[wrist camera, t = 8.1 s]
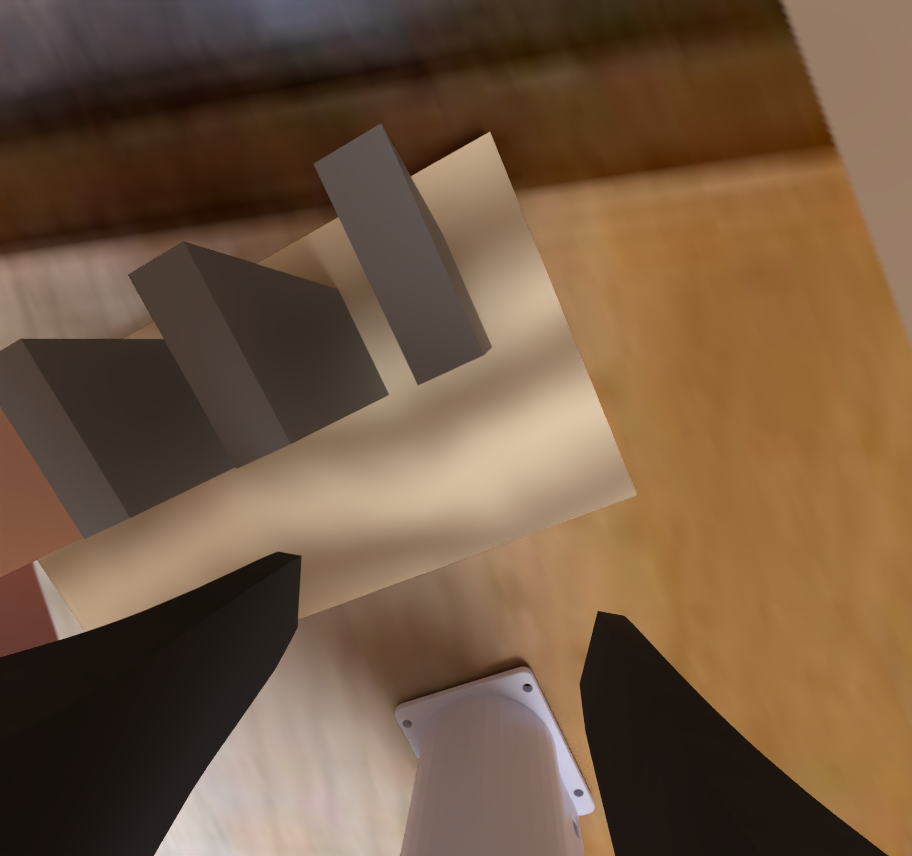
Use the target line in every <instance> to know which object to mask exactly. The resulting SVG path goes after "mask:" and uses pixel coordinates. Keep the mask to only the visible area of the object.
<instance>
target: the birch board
mask: <svg viewBox="0 0 912 856" xmlns="http://www.w3.org/2000/svg"><path fill="white" fill-rule="evenodd" d="M411 178H412V180H413V181H414V183H415V185H416V187H417V188H418V190H419V192H420V194H421V196H422V197H423V199H424V201H425V203H426V205H427V206H428V208H429V210H430V212H431V214H432V215H433V217H434V219H435V221H436V223H437V224H438V226H439V228H440V230H441V232H442V233H443V236H444V238H445V240H446V242H447V245H448V247H449V249H450V252H451V254H452V256H453V258H454V261H455V263H456V265H457V268H458V270H459V272H460V275H461V277H462V279H463V281H464V284H465V286H466V288H467V291H468V293H469V295H470V297H471V300H472V302H473V304H474V307H475V309H476V311H477V313H478V316H479V318H480V320H481V323H482V325H483V327H484V329H485V332H486V334H487V336H488V339H489V341H490V343H491V345H492V348H491V349H490V350H489V351H488V352H487V353H486V354H485V355H483V356H481V357H479V358H477V359H475V360H473V361H470V362H468V363H466V364H464V365H462V366H459V367H457V368H455V369H453V370H451V371H449V372H446V373H444V374H442V375H440V376H438V377H436V378H433V379H431V380H429V381H427V382H425V383H423V384H420V385H417V382H416V380H415V378H414V376H413V374H412V372H411V370H410V368H409V366H408V363H407V361H406V359H405V357H404V355H403V353H402V351H401V349H400V346H399V344H398V342H397V340H396V338H395V336H394V334H393V332H392V329H391V327H390V325H389V323H388V321H387V319H386V317H385V315H384V313H383V310H382V308H381V306H380V304H379V302H378V300H377V298H376V296H375V293H374V291H373V289H372V287H371V285H370V283H369V281H368V279H367V276H366V274H365V272H364V270H363V268H362V266H361V264H360V262H359V259H358V257H357V255H356V253H355V251H354V249H353V247H352V245H351V243H350V240H349V238H348V236H347V234H346V232H345V230H344V228H343V226H342V223H341V221H340V219H339V217H338V218H336V219H334V220H333V221H331V222H329V223H327V224H325V225H324V226H322V227H320V228H318V229H317V230H315V231H313V232H311V233H309V234H308V235H306V236H304V237H302V238H301V239H299V240H297V241H295V242H294V243H292V244H290V245H288V246H286V247H285V248H283V249H281V250H279V251H278V252H276V253H274V254H272V255H270V256H269V257H267V258H265V259H263V260H262V261H260V262H258V263H256V264H258V265H261V266H265V267H268V268H271V269H275V270H278V271H281V272H284V273H288V274H291V275H294V276H297V277H301V278H304V279H307V280H310V281H314V282H317V283H320V284H323V285H327V286H330V287H333V288H337V289H338V290H339V292H340V294H341V296H342V298H343V300H344V302H345V304H346V306H347V308H348V310H349V313H350V315H351V317H352V319H353V321H354V323H355V325H356V327H357V329H358V331H359V333H360V335H361V337H362V339H363V341H364V344H365V346H366V348H367V350H368V352H369V354H370V356H371V358H372V360H373V362H374V364H375V366H376V368H377V370H378V372H379V375H380V377H381V379H382V381H383V383H384V385H385V387H386V389H387V391H388V393H389V395H388V396H386V397H384V398H382V399H380V400H378V401H376V402H374V403H372V404H370V405H368V406H366V407H364V408H362V409H360V410H358V411H356V412H354V413H352V414H350V415H348V416H346V417H344V418H342V419H340V420H338V421H336V422H334V423H332V424H330V425H328V426H326V427H324V428H322V429H320V430H318V431H316V432H314V433H312V434H310V435H308V436H306V437H304V438H302V439H300V440H298V441H296V442H294V443H292V444H290V445H288V446H286V447H284V448H281V449H279V450H277V451H275V452H273V453H271V454H268V455H266V456H264V457H262V458H260V459H258V460H255V461H253V462H251V463H249V464H247V465H245V466H242V467H240V468H238V469H236V467H235V468H233V469H231V470H229V471H227V472H225V473H223V474H221V475H219V476H217V477H214V478H212V479H210V480H208V481H206V482H204V483H202V484H200V485H198V486H196V487H194V488H192V489H190V490H188V491H185V492H183V493H181V494H179V495H177V496H175V497H173V498H171V499H169V500H167V501H165V502H163V503H161V504H159V505H157V506H154V507H152V508H150V509H148V510H146V511H144V512H142V513H140V514H138V515H136V516H134V517H132V518H130V519H127V520H125V521H123V522H121V523H119V524H117V525H114V526H112V527H110V528H108V529H106V530H103V531H101V532H99V533H97V534H95V535H93V536H90V537H88V538H86V539H84V538H82V539H80V540H77V541H75V542H73V543H71V544H69V545H67V546H65V547H63V548H61V549H58V550H56V551H54V552H52V553H50V554H48V555H46V556H44V557H42V558H40V559H37V560H38V562H39V563H40V565H41V566H42V568H43V569H44V571H45V572H46V574H47V575H48V577H49V578H50V580H51V581H52V583H53V584H54V586H55V587H56V589H57V590H58V592H59V593H60V595H61V596H62V598H63V599H64V601H65V603H66V604H67V606H68V607H69V609H70V610H71V612H72V613H73V615H74V616H75V618H76V619H77V621H78V622H79V624H80V625H81V627H82V628H83V630H84V631H85V632H87V631H90V630H92V629H95V628H98V627H101V626H104V625H107V624H110V623H113V622H115V621H118V620H121V619H124V618H126V617H129V616H132V615H134V614H137V613H139V612H142V611H144V610H147V609H149V608H151V607H154V606H156V605H159V604H161V603H163V602H166V601H168V600H170V599H173V598H175V597H177V596H180V595H182V594H185V593H187V592H189V591H192V590H194V589H196V588H198V587H201V586H203V585H205V584H207V583H209V582H211V581H214V580H216V579H218V578H220V577H222V576H224V575H226V574H229V573H231V572H233V571H235V570H237V569H239V568H241V567H243V566H246V565H248V564H250V563H252V562H254V561H256V560H259V559H261V558H263V557H265V556H268V555H270V554H273V553H275V552H278V551H279V552H284V553H290V554H295V555H300V556H302V559H301V576H300V593H299V610H298V620H299V619H302V618H305V617H307V616H310V615H313V614H316V613H318V612H321V611H324V610H326V609H329V608H332V607H335V606H337V605H340V604H343V603H345V602H348V601H351V600H354V599H356V598H359V597H362V596H364V595H367V594H370V593H373V592H375V591H378V590H381V589H383V588H386V587H389V586H392V585H394V584H397V583H400V582H402V581H405V580H408V579H411V578H413V577H416V576H419V575H421V574H424V573H427V572H430V571H432V570H435V569H438V568H440V567H443V566H446V565H449V564H451V563H454V562H457V561H459V560H462V559H465V558H468V557H470V556H473V555H476V554H478V553H481V552H484V551H487V550H489V549H492V548H495V547H497V546H500V545H503V544H506V543H508V542H511V541H514V540H516V539H519V538H522V537H525V536H527V535H530V534H533V533H535V532H538V531H541V530H544V529H546V528H549V527H552V526H554V525H557V524H560V523H563V522H565V521H568V520H571V519H573V518H576V517H579V516H582V515H584V514H587V513H590V512H592V511H595V510H598V509H601V508H603V507H606V506H609V505H611V504H614V503H617V502H620V501H622V500H625V499H628V498H630V497H633V496H636V495H637V494H636V491H635V489H634V486H633V484H632V481H631V479H630V476H629V474H628V471H627V469H626V466H625V464H624V462H623V459H622V457H621V454H620V452H619V449H618V447H617V444H616V442H615V439H614V437H613V434H612V432H611V429H610V427H609V424H608V422H607V420H606V417H605V415H604V412H603V410H602V407H601V405H600V402H599V400H598V397H597V395H596V392H595V390H594V387H593V385H592V383H591V380H590V378H589V375H588V373H587V370H586V368H585V365H584V363H583V360H582V358H581V355H580V353H579V350H578V348H577V345H576V343H575V341H574V338H573V336H572V333H571V331H570V328H569V326H568V323H567V321H566V318H565V316H564V313H563V311H562V308H561V306H560V304H559V301H558V299H557V296H556V294H555V291H554V289H553V286H552V284H551V281H550V279H549V276H548V274H547V271H546V269H545V266H544V264H543V262H542V259H541V257H540V254H539V252H538V249H537V247H536V244H535V242H534V239H533V237H532V234H531V232H530V229H529V227H528V225H527V222H526V220H525V217H524V215H523V212H522V210H521V207H520V205H519V202H518V200H517V197H516V195H515V192H514V190H513V188H512V185H511V183H510V180H509V178H508V175H507V173H506V170H505V168H504V165H503V163H502V160H501V158H500V155H499V153H498V150H497V148H496V146H495V143H494V141H493V138H492V136H491V133H490V132H489V133H487V134H485V135H483V136H481V137H480V138H478V139H476V140H474V141H473V142H471V143H469V144H467V145H466V146H464V147H462V148H460V149H458V150H457V151H455V152H453V153H451V154H450V155H448V156H446V157H444V158H442V159H441V160H439V161H437V162H435V163H434V164H432V165H430V166H428V167H427V168H425V169H423V170H421V171H419V172H418V173H416V174H414V175H412V176H411ZM123 339H164V338H163V337H162V335H161V333H160V331H159V329H158V328H157V326H156V324H155V322H154V321H153V322H152V323H150V324H148V325H146V326H145V327H143V328H141V329H139V330H138V331H136V332H134V333H132V334H130V335H129V336H127V337H125V338H123Z"/></svg>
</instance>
